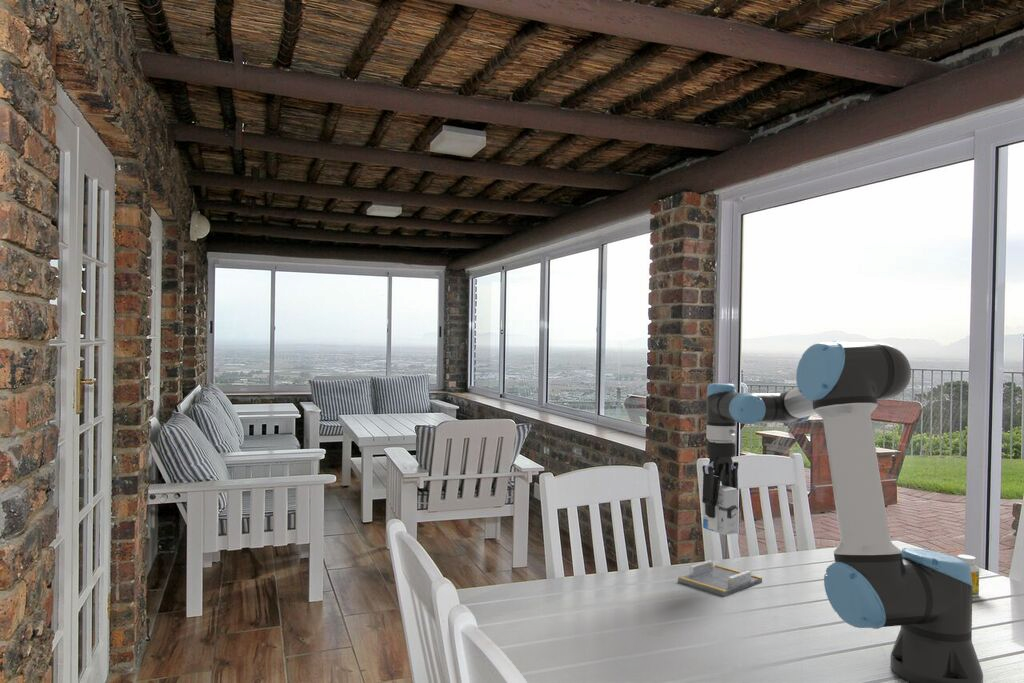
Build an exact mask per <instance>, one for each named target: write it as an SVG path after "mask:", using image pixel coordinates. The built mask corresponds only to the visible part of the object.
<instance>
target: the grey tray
mask: <svg viewBox="0 0 1024 683" xmlns="http://www.w3.org/2000/svg"><path fill="white" fill-rule="evenodd" d="M677 582H678V583H680V584H683V585H685V586H688V587H693V588H695V589H699V590H702V591H705V592H709V593H711V594H715V595H718V596H721V597H727V596H729V595H732V594H734V593H737V592H739V591H742V590H745V589H748V588H749V587H752V586H755V585H757V584H760V583H763V578H762V576H758V575H755V574H752V571H750V570H745V571H740V570H737V569H733V568H729V567H725V566H722V565H719V564H714V561H713V560H710V559H707V560H705V561H702V562H698V563H695V564H693V565H689V574H687V575H684V576H678V578H677Z"/></svg>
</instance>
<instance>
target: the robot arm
mask: <svg viewBox="0 0 1024 683" xmlns="http://www.w3.org/2000/svg"><path fill="white" fill-rule="evenodd" d="M795 376H796V377H795V378H796V380H795V381H796V386H797V387H795V388H792V389H790V390H787V391H785V392H776V393H775V392H770V393H769V392H767V393H766V392H761V393H760V392H758V393H757V392H743V393H742V392H737V388H736V386H735V384H733V383H722V382H721V383H720V382H717V383H716V382H715V383H709V384H708V385H707V387H706V389H707V390H706V398H705V399H706V427H705V428H706V431H705V433H706V435H705V436H706V438H705V439H707V441H706V450H705V452H706V455H707V456H708V457H709V462H708V464H707V465H704V464H703V465H702V468H701V469H702V473H703V474H702V476H703V477H702V500H701V502H702V504H703V503H704V504H707V505H708V529H711V530H716V531H718V530H719V506H718V505H717V499H718V494H719V488H720V484H721V485H724V486H728V487H732V488H736V489H737V490H738V491H739V479H738V478H739V477H738V476H739V475H738V470H739V462H738V461H733V459H732V458H733V457H735V456H736V453H737V450H736V448H737V446H736V442H734V441H736V432H737V431H736V423H739V424H742V425H755V424H757V423H758V424H759V423H762V424H763V423H764V424H765V423H791V424H792V423H793V424H795V423H801V422H803V423H804V422H806V421H807V420H809V418H810V417H811V416H813V415H818V416H819V418H821V419H822V420H823V421H822V422H823V428H824V434H825V435H824V436H825V443H826V450H827V456H828V464H829V469H830V476H831V484H832V489H833V491H832V492H833V496H834V504H835V505H834V506H835V511H836V517H837V525H838V532H839V538H840V542H839V544H838V546H837V547H836V548H835V549H834V550H833V556H834V558H833V559H834V562H833V563H831V564H830V565H828V566H827V568H826V569H825V572H826V573H824V576H823V584H824V585H823V586H824V591H825V593H826V594H825V595H826V597H827V599H828V601H829V604H830V605H831V608H832V609H833V611H834V612H835V613H836V614H837V615H838V617H839V618H840V619H841V620H843V621H844V622H845V623H846V624H848V625H849V626H851V627H854V628H857V629H873V630H874V629H875V630H877V629H881V628H887V627H888V628H889V627H899V626H900V629H899V632H898V634H897V636H896V640H895V642H894V645H893V647H892V649H891V652H890V663H889V664H890V666H889V667H890V668H891V670H892V672H893V673H894V674H896V676H898V677H899V678H901V679H903V680H904V681H907V682H909V683H984V675H983V674H984V673H983V670H982V667H981V665H980V664H981V663H980V661H979V658H978V655H977V653H976V649H975V647H974V644H973V639H972V638H973V637H972V636H973V634H972V631H973V630H972V629H973V597H972V586H973V583H972V577H971V569H970V566H969V565H968V564H967V563H966V562H965V561H963V560H961V559H959V558H957V557H956V556H953V555H950V554H946V553H942V552H938V551H935V550H934V551H933V550H929V549H923V548H916V547H903V548H902V549H900V548H898V547H897V546H896V545H895V544H893V542H892V541H891V536H890V530H889V529H890V528H889V523H888V522H889V521H888V517H887V510H886V505H885V498H884V491H883V486H882V485H883V484H882V480H881V474H880V467H879V460H878V456H877V454H878V453H877V449H876V441H875V436H874V430H873V423H872V418H871V415H872V413H873V412H874V411H875V410H876V408H878V402H879V401H882V400H883V401H884V400H886V399H892V398H895V397H897V396H899V395H900V394H902V393H903V392H904V391H905V389H907V388H908V385H909V384H910V382H911V378H912V368H911V364H910V361H909V360H908V358H907V356H906V355H905V354H904V353H903V352H902V351H901V350H899V349H898V348H897V347H895V346H892V345H890V344H888V343H884V342H856V341H855V342H853V341H836V340H833V341H829V342H817V343H815V344H812V345H811V346H809V347H807V349H806V350H805V351H804V352H803V354H802V355H801V358H800V359H799V361H798V364H797V368H796V375H795ZM708 529H707V530H708ZM711 530H710V531H711Z"/></svg>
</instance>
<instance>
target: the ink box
mask: <svg viewBox="0 0 1024 683" xmlns="http://www.w3.org/2000/svg"><path fill="white" fill-rule="evenodd" d="M702 504H703V506H702V507H703V508H702V510H703V511H702V512H703V514H702V515H703V517H702V518H703V519H702V522H703V524H702V528H703V529H705V530H709V531H711V532H714V533H717V534H720V535H722V536H727V535H736V534H738V533H739V532H738V531H739V489H738V490H737V489H736V488H732V487H728V486H724V485H722V483H720V488H719V494H718V499H717V505H718V506H719V530H718V531H716V530H711V529H708V505H707V504H704V503H703V502H702Z"/></svg>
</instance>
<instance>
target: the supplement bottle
mask: <svg viewBox="0 0 1024 683" xmlns="http://www.w3.org/2000/svg"><path fill="white" fill-rule="evenodd" d="M956 556H957V557H956V558H959V559H961V560H963V561H965V562H966V563H967V564H968V565H969V566H970V569H971V577H972V583H973V586H972V598H977V597H979V595H980V593H979V592H980V569H979V566H977V565H976V563H977V558H976V557H975V556H974V555H969V554H958V555H956Z"/></svg>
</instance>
